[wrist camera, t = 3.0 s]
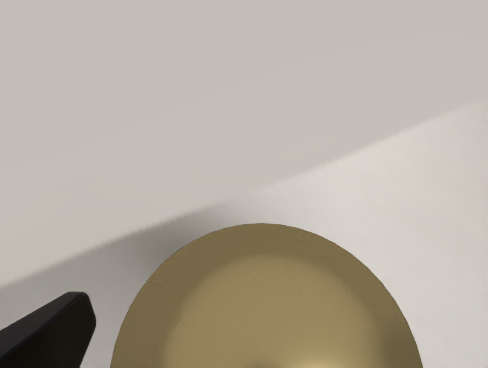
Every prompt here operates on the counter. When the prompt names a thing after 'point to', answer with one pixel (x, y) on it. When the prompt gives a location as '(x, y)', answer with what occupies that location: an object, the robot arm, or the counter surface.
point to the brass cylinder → (264, 307)
